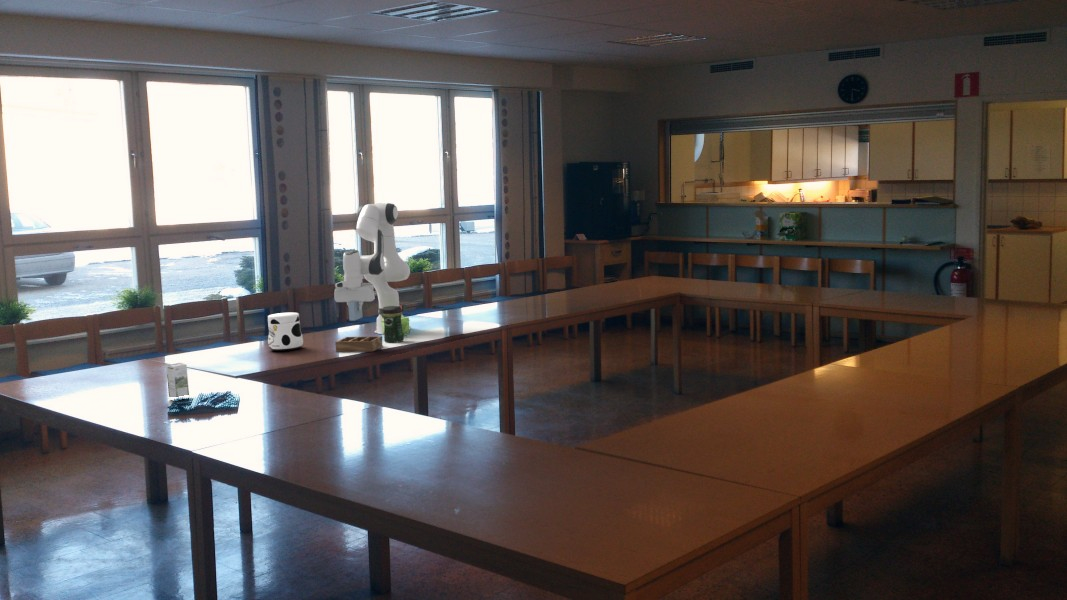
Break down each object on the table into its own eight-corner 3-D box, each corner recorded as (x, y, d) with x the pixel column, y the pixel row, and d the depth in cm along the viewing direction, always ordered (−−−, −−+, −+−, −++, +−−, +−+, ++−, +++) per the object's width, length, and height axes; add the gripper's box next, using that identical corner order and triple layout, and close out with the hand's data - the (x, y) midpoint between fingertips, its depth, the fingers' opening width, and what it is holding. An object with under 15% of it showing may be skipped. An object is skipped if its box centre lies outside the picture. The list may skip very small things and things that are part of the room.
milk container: (261, 352, 480) (258, 317, 478) (285, 345, 495) (282, 311, 493) (287, 353, 472) (284, 317, 470) (310, 347, 487) (308, 312, 485)
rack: (347, 346, 483) (346, 336, 482) (382, 346, 479) (381, 336, 478) (336, 351, 469) (335, 341, 469) (372, 351, 465) (371, 341, 465)
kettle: (382, 339, 500) (381, 318, 498) (382, 335, 513) (380, 314, 512) (411, 337, 502) (409, 316, 501) (410, 333, 516) (408, 312, 514)
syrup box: (182, 397, 384) (178, 362, 382) (190, 399, 380) (186, 363, 378) (169, 400, 379) (165, 364, 377) (177, 402, 375) (173, 366, 374)
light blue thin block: (357, 317, 478) (356, 299, 476) (362, 317, 477) (361, 299, 476) (349, 320, 468) (348, 302, 467) (354, 320, 467) (353, 302, 466)
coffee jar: (406, 340, 493) (403, 305, 490) (397, 343, 486) (395, 307, 483) (390, 339, 497) (388, 304, 495) (381, 342, 490) (379, 306, 488)
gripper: (375, 281, 471) (377, 309, 473) (337, 282, 475) (339, 310, 477) (370, 283, 465) (372, 311, 467) (331, 284, 469) (334, 312, 471)
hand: (355, 310), depth 472 cm, fingers closed on light blue thin block, 3 cm apart
